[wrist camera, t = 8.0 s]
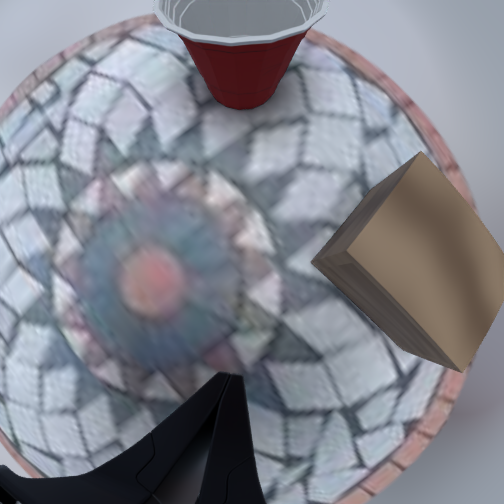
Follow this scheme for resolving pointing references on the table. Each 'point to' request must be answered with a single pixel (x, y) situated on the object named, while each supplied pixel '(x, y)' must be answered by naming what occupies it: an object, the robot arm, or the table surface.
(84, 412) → the table surface
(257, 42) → the plastic cup
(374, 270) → the brown box
